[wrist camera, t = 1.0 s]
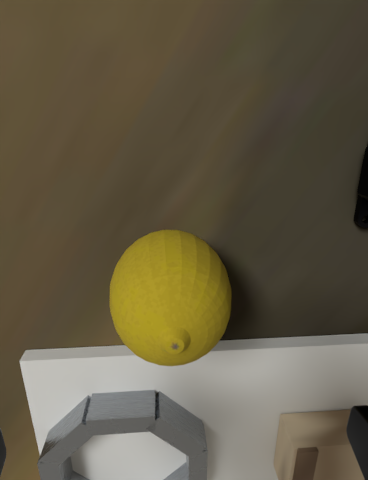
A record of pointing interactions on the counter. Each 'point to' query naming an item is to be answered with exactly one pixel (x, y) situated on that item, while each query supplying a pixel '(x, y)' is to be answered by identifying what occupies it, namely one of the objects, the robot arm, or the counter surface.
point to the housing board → (200, 399)
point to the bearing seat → (125, 431)
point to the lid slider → (315, 447)
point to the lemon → (170, 298)
